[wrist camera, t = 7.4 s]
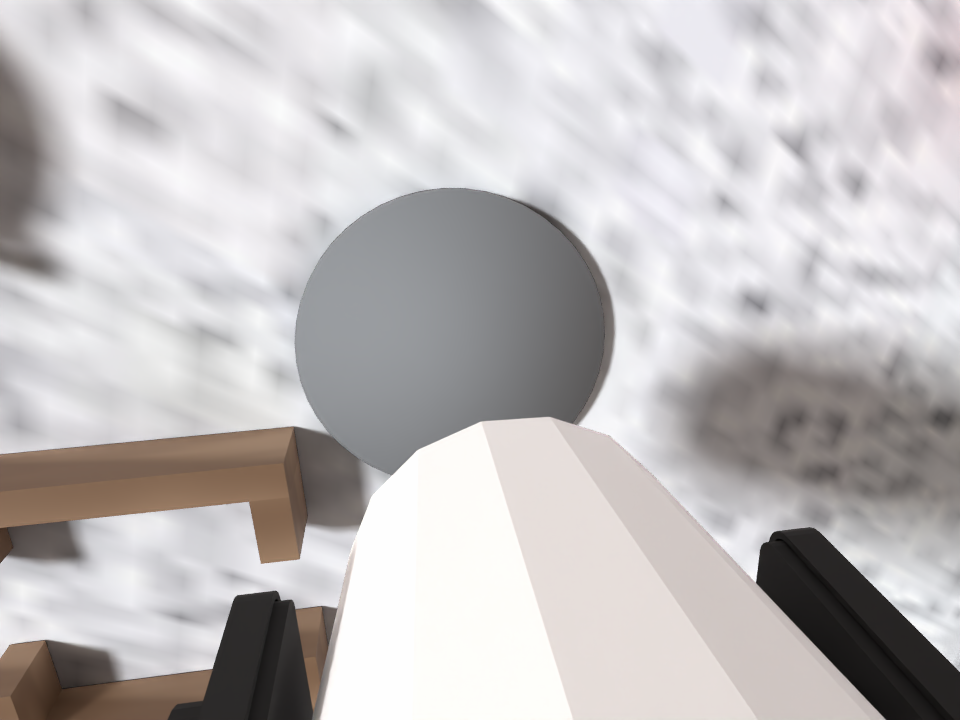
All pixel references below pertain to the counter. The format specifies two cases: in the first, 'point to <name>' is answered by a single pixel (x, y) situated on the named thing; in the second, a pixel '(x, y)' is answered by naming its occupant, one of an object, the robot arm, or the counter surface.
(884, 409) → the counter surface
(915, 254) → the counter surface
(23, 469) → the pocket
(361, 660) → the white cylinder
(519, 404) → the coaster
